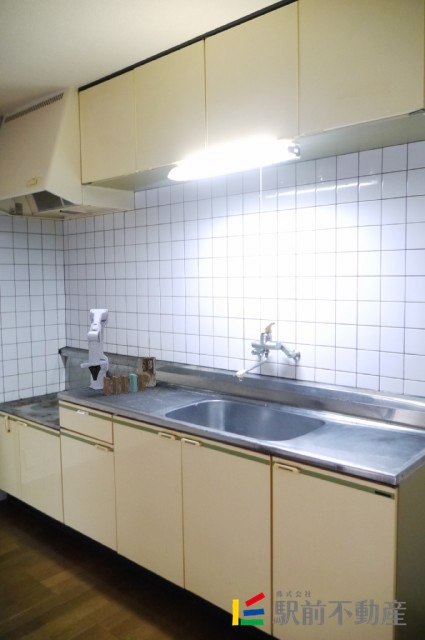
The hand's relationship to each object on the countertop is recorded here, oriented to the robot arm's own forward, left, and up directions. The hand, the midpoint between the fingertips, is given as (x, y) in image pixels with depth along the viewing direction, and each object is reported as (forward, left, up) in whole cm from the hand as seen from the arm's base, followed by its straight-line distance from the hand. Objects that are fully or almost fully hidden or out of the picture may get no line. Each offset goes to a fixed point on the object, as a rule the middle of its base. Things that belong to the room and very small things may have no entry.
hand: (94, 380), depth 264 cm
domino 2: (+1, +11, -8) cm, 14 cm away
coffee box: (-8, +34, -8) cm, 36 cm away
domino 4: (+1, +21, -8) cm, 23 cm away
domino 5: (+1, +26, -8) cm, 27 cm away
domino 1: (+1, +6, -8) cm, 10 cm away
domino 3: (+1, +16, -8) cm, 18 cm away
